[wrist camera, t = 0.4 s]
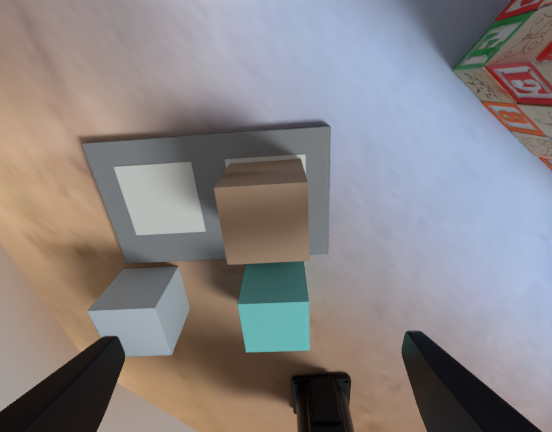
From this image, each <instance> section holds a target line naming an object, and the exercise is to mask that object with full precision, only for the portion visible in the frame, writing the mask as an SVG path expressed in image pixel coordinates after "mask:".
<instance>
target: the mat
mask: <svg viewBox="0 0 552 432" xmlns="http://www.w3.org/2000/svg"><path fill="white" fill-rule="evenodd" d="M330 134H331V127H330V126H316V127H301V128H287V129H272V130H258V131H244V132H229V133H215V134H201V135H186V136H172V137H158V138H143V139H129V140H114V141H100V142H87V143H83V144H82V146H83V149H84V152H85V154H86V157H87V160H88V162H89V165H90V168H91V170H92V173H93V175H94V178H95V181H96V183H97V186H98V189H99V191H100V194H101V197H102V199H103V202H104V205H105V207H106V210H107V212H108V215H109V218H110V220H111V223H112V226H113V228H114V231H115V234H116V236H117V239H118V242H119V244H120V247H121V250H122V252H123V255H124V257H125V260H126V263H127V264H129V263H149V262H170V261H190V260H210V259H226V253H225V248H224V242H223V237H222V231H221V226H220V220H219V215H218V209H217V203H216V198H215V192H214V187H215V185H216V184H217V182H218V181H219V179H220V178H221V176H222V175H223V173H224V172H225V170H226V169H227V167H228V165H229V164H231V163H247V162H262V161H278V160H293V159H301V160H302V164H303V167H304V171H305V174H306V178H307V181H308V220H309V255H313V254H328V239H329V187H330Z"/></svg>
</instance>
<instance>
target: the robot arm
mask: <svg viewBox="0 0 552 432" xmlns="http://www.w3.org/2000/svg"><path fill="white" fill-rule="evenodd" d="M402 358H403V361H404V364H405V367H406V371H407V374H408V377H409V380H410V383H411V387H412V390H413V393H414V396H415V400H416V403H417V406H418V409H419V412H420V415H421V417H422V420H423V422H424V425H425V427H426V429H427V432H542V431H541V430H540V429H538V428H537V427H536V426H535V425H534V424H532V423H531V422H530V421H529V420H528V419H526V418H525V417H524V416H523V415H522V414H520V413H519V412H518V411H517V410H516V409H514V408H513V407H512V406H511V405H509V404H508V403H507V402H506V401H505V400H503V399H502V398H501V397H500V396H499V395H497V394H496V393H495V392H494V391H493V390H491V389H490V388H489V387H488V386H487V385H485V384H484V383H483V382H482V381H481V380H479V379H478V378H477V377H476V376H475V375H473V374H472V373H471V372H470V371H469V370H467V369H466V368H465V367H464V366H462V365H461V364H460V363H459V362H458V361H456V360H455V359H454V358H453V357H452V356H450V355H449V354H448V353H447V352H446V351H444V350H443V349H442V348H441V347H440V346H438V345H437V344H436V343H435V342H434V341H432V340H431V339H430V338H429V337H428V336H426V335H425V334H424V333H423V332H421V331H406V333H405V336H404V340H403V345H402ZM124 361H125V351H124V349H123V347H122V344H121V342H120V339H119V337H117V336H104V337H102V338H100V339H99V340H97V341H96V342H95V343H93V344H92V345H90V346H89V347H88V348H86V349H85V350H84V351H82V352H81V353H80V354H78V355H77V356H76V357H74V358H73V359H71V360H70V361H69V362H67V363H66V364H65V365H64V366H62V367H61V368H59V369H58V370H57V371H55V372H54V373H52V374H51V375H50V376H48V377H47V378H46V379H45V380H43V381H41V382H40V383H39V384H37V385H36V386H35V387H33V388H32V389H31V390H29V391H28V392H26V393H25V394H24V395H22V396H21V397H20V398H19V399H17V400H16V401H14V402H13V403H12V404H10V405H9V406H7V407H6V408H5V409H3V410H2V411H1V412H0V432H97V429H98V427H99V425H100V423H101V421H102V418H103V416H104V414H105V411H106V409H107V407H108V404H109V401H110V399H111V396H112V393H113V391H114V388H115V385H116V383H117V380H118V377H119V375H120V372H121V369H122V367H123V364H124ZM291 384H292V398H293V412H294V413H295V414H297V428H298V432H354V429H353V424H352V419H351V415H350V410H349V401H350V389H351V379H350V376H349V375H327V376H295V377H292V379H291Z"/></svg>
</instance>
